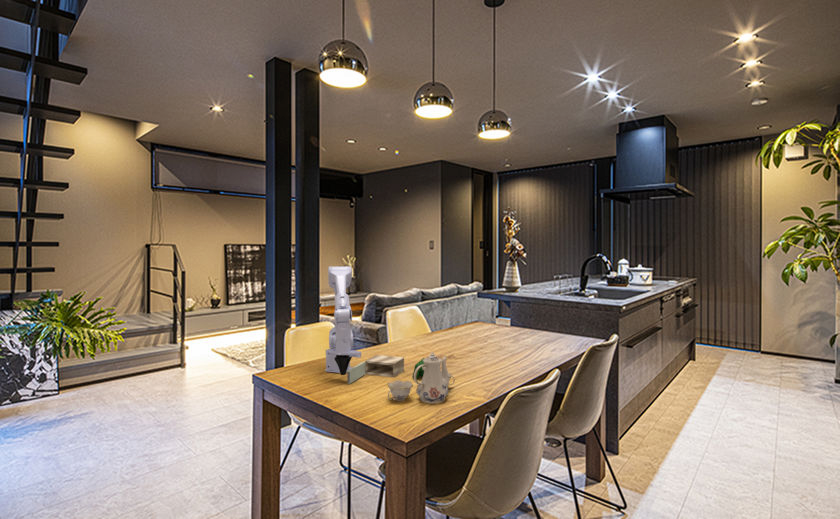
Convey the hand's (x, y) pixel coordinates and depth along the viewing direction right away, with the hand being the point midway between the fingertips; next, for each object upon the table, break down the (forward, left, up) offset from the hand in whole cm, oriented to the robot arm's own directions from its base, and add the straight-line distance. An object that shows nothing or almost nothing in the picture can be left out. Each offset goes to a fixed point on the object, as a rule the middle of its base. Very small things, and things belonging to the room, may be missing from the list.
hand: (343, 374), depth 159 cm
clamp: (+28, +16, -3) cm, 32 cm away
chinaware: (+36, -6, -3) cm, 36 cm away
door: (+4, +4, -2) cm, 6 cm away
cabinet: (+10, +16, -3) cm, 19 cm away
